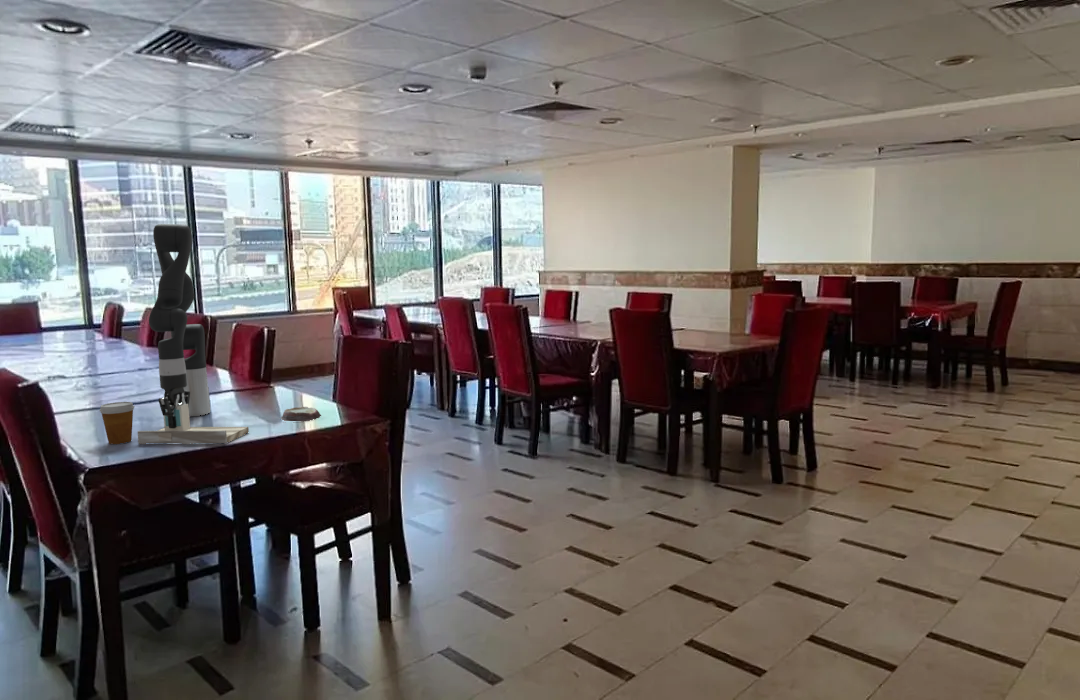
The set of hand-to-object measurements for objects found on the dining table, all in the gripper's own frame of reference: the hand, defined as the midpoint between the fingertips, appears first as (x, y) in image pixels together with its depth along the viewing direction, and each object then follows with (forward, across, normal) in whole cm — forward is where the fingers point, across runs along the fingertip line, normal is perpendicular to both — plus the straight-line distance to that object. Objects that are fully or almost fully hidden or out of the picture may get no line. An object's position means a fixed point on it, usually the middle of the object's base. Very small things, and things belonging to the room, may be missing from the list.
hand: (177, 426), depth 234 cm
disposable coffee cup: (+4, -4, +17) cm, 18 cm away
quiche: (+5, +32, -26) cm, 41 cm away
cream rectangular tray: (+4, +1, -5) cm, 7 cm away
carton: (+1, 0, 0) cm, 1 cm away
